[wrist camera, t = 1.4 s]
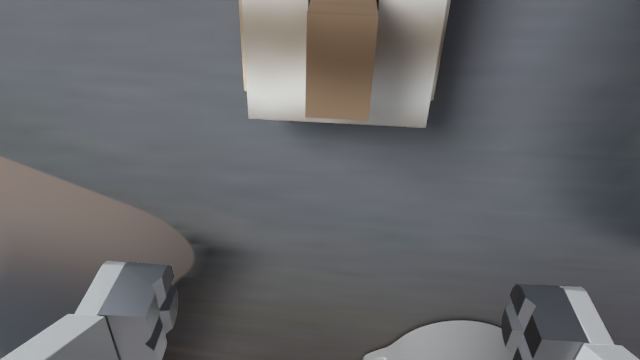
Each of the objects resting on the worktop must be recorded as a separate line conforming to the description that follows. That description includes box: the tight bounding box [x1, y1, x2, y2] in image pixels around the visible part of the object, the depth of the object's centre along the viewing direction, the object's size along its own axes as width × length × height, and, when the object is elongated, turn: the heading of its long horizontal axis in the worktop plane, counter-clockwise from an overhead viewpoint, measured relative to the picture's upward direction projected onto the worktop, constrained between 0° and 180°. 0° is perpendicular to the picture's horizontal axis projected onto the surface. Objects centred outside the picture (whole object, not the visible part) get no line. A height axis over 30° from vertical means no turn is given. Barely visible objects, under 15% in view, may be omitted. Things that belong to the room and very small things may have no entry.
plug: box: [305, 0, 379, 121], centre depth 27 cm, size 5×3×9 cm, turn 178°
